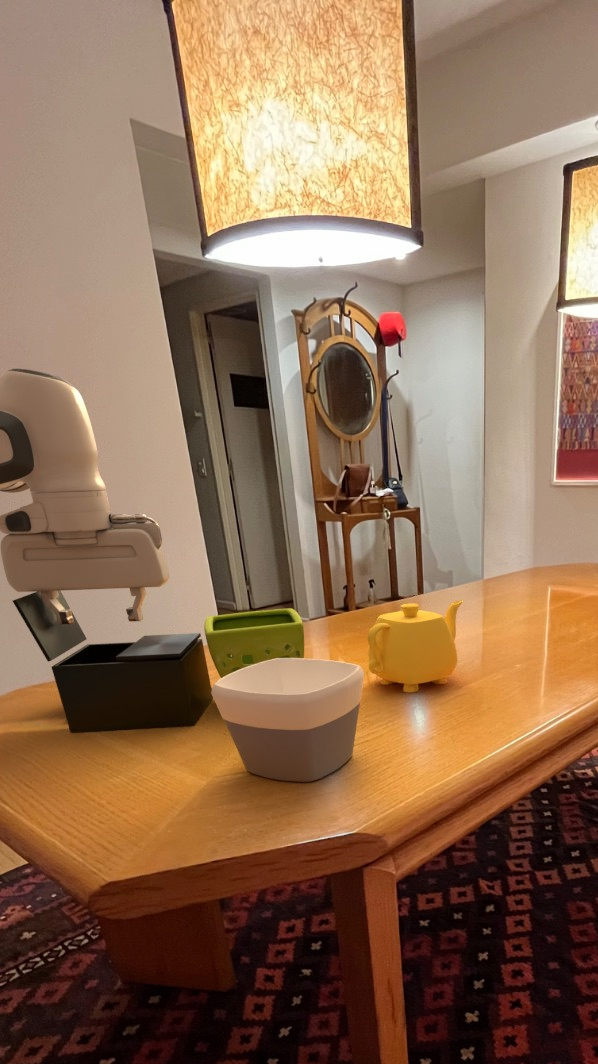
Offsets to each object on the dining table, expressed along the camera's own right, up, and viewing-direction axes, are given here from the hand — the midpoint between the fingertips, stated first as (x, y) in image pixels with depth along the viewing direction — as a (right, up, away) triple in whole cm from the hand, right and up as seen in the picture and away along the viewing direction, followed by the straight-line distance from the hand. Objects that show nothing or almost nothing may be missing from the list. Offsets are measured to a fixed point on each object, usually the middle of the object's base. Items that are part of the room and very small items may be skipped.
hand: (101, 622), depth 95 cm
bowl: (+31, -21, -12) cm, 39 cm away
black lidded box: (+3, -12, +6) cm, 14 cm away
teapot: (+44, -5, +19) cm, 48 cm away
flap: (-6, 0, -1) cm, 6 cm away
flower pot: (+20, -9, +12) cm, 25 cm away
